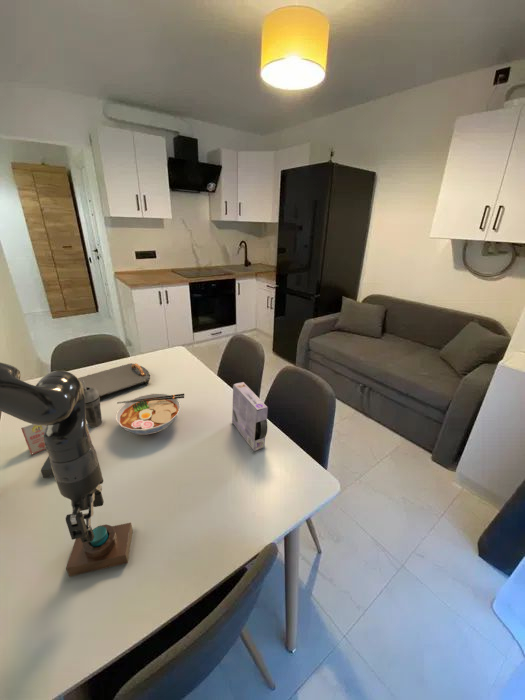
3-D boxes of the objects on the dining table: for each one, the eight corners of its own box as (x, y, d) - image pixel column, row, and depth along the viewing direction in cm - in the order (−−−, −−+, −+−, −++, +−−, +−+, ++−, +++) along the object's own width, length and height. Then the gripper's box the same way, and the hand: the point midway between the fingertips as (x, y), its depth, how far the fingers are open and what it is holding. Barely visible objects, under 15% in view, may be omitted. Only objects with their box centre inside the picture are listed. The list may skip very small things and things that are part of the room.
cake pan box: (267, 449, 101) (269, 407, 94) (255, 454, 99) (256, 411, 92) (242, 418, 116) (242, 380, 109) (231, 422, 114) (230, 383, 107)
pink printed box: (29, 448, 98) (20, 425, 94) (53, 439, 102) (45, 416, 98) (31, 454, 96) (21, 430, 92) (55, 445, 100) (47, 422, 96)
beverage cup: (108, 416, 115) (98, 372, 107) (102, 428, 109) (91, 382, 100) (88, 418, 114) (76, 373, 106) (81, 430, 107) (68, 383, 99)
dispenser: (69, 576, 64) (63, 562, 62) (80, 541, 71) (75, 527, 69) (127, 563, 67) (124, 549, 65) (132, 530, 74) (129, 516, 72)
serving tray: (138, 365, 155) (136, 355, 153) (157, 382, 140) (155, 371, 138) (52, 391, 131) (48, 379, 128) (64, 414, 116) (60, 401, 113)
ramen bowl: (108, 451, 98) (103, 431, 95) (123, 411, 119) (120, 394, 115) (184, 442, 103) (182, 423, 100) (186, 405, 124) (184, 389, 120)
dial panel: (43, 477, 88) (40, 469, 86) (54, 456, 96) (52, 448, 94) (83, 471, 90) (81, 463, 89) (91, 450, 98) (89, 443, 97)
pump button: (88, 549, 65) (86, 543, 64) (92, 533, 68) (91, 527, 67) (106, 545, 66) (104, 539, 65) (109, 530, 69) (108, 524, 68)
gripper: (87, 492, 52) (105, 549, 59) (105, 440, 65) (118, 491, 72) (39, 501, 51) (63, 558, 57) (67, 445, 63) (84, 497, 70)
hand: (93, 521), depth 64 cm, fingers open, 8 cm apart
